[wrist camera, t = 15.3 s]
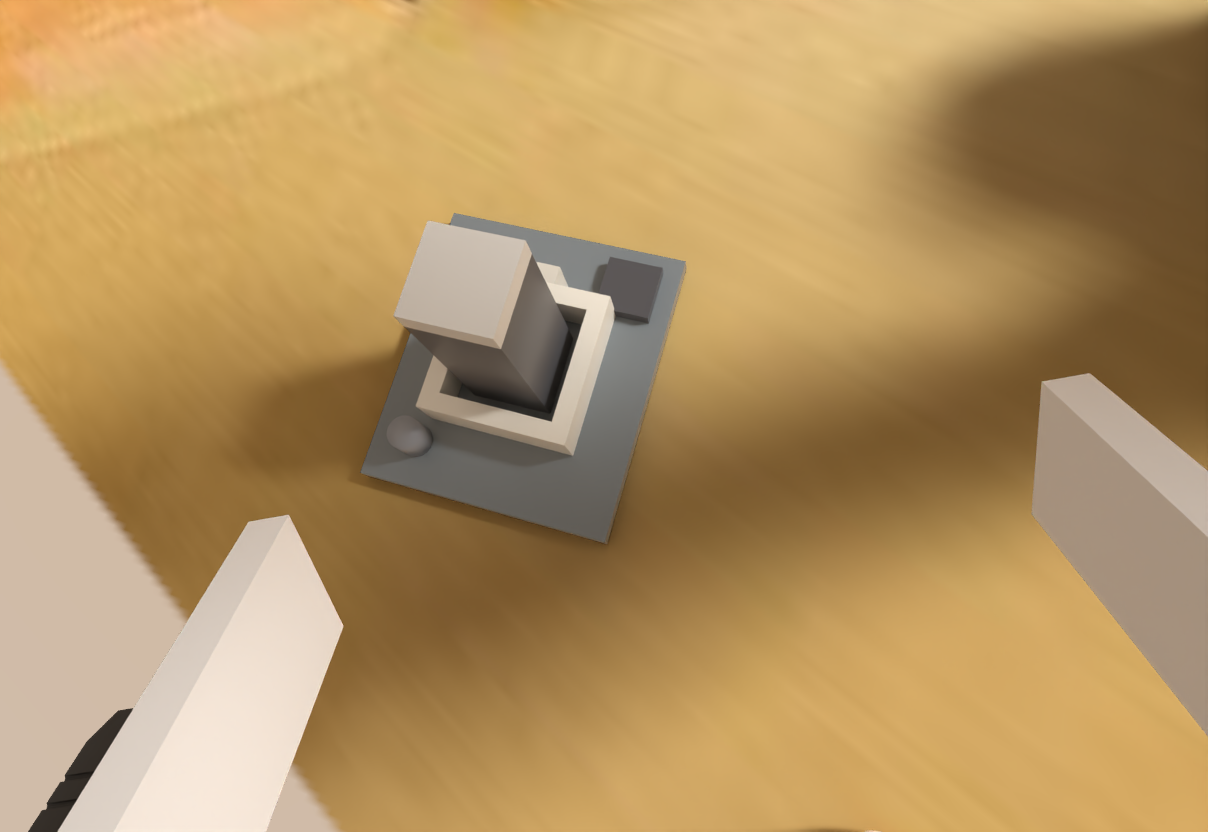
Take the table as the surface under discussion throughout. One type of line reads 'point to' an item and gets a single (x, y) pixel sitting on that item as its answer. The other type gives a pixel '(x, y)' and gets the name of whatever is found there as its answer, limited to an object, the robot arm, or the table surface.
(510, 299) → the tall square peg
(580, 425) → the board
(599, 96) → the table surface
